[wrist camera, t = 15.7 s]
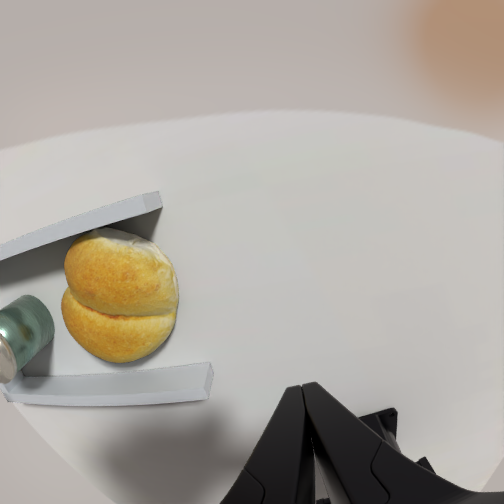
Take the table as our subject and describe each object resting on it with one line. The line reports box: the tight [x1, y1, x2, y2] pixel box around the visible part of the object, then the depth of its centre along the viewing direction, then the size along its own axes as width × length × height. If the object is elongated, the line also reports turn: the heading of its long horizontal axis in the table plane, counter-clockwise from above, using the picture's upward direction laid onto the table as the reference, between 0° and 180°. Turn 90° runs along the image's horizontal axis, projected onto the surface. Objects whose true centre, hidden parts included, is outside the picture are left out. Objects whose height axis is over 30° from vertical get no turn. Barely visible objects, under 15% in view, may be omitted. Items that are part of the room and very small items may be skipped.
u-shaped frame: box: [0, 191, 214, 406], centre depth 20 cm, size 13×20×3 cm, turn 103°
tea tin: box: [0, 295, 55, 384], centre depth 18 cm, size 5×5×6 cm
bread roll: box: [61, 227, 179, 363], centre depth 19 cm, size 8×9×4 cm
